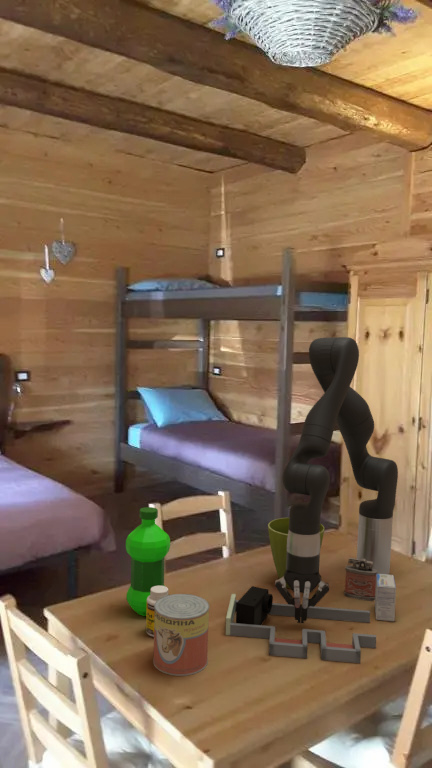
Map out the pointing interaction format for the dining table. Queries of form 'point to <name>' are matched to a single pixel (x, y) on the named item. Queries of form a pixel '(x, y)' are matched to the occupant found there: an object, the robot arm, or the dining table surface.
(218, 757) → the dining table surface
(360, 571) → the lighter
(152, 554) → the plastic bottle
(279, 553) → the flower pot
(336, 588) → the dining table surface
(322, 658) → the channel
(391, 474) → the robot arm
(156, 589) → the supplement bottle
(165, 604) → the canned food
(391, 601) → the medicine box
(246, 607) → the digital camera
